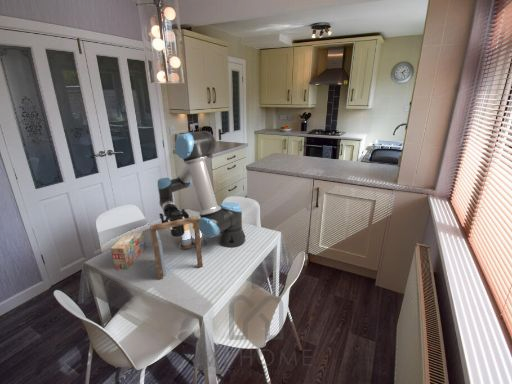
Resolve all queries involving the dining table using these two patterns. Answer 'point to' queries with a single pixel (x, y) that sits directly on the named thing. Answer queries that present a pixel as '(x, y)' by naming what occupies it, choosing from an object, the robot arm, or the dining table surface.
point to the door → (161, 254)
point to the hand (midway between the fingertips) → (178, 225)
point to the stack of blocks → (127, 250)
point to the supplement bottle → (176, 230)
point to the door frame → (173, 224)
